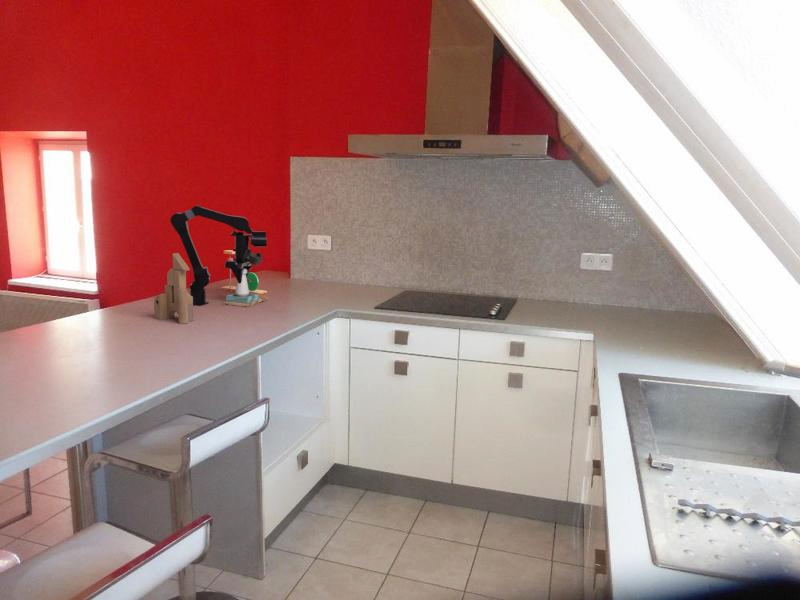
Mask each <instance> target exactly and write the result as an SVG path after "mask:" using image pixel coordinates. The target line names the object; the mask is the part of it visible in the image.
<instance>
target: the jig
mask: <svg viewBox="0 0 800 600" xmlns="http://www.w3.org/2000/svg"><path fill="white" fill-rule="evenodd" d="M267 299H268V300H269V297H266V296H260V295H259V294H251V293H249V295H248V297H237V296H236V293H235V292H233V293H232V294H228V295H225V300H224V301H222V305H223V304H228V305H227V306H232V305H242V306H250V307H252V306H251V305H253V304H255V305H257V304H256V303H258V304H260V303H259V302H261V301H264V300H267ZM268 300H267V301H268ZM264 302H265V301H264ZM261 303H262V302H261ZM242 306H241V307H242ZM253 306H254V305H253Z"/></svg>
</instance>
